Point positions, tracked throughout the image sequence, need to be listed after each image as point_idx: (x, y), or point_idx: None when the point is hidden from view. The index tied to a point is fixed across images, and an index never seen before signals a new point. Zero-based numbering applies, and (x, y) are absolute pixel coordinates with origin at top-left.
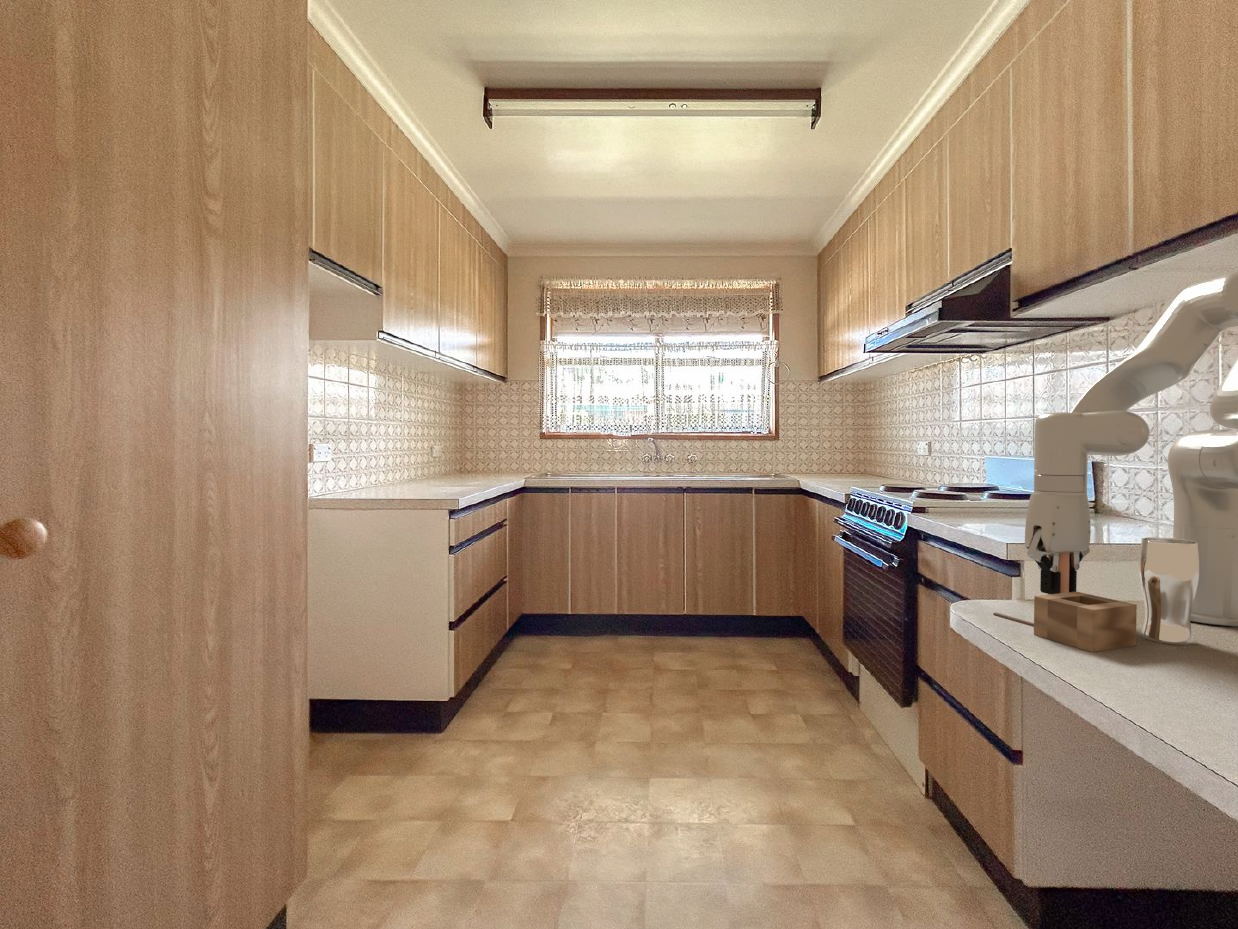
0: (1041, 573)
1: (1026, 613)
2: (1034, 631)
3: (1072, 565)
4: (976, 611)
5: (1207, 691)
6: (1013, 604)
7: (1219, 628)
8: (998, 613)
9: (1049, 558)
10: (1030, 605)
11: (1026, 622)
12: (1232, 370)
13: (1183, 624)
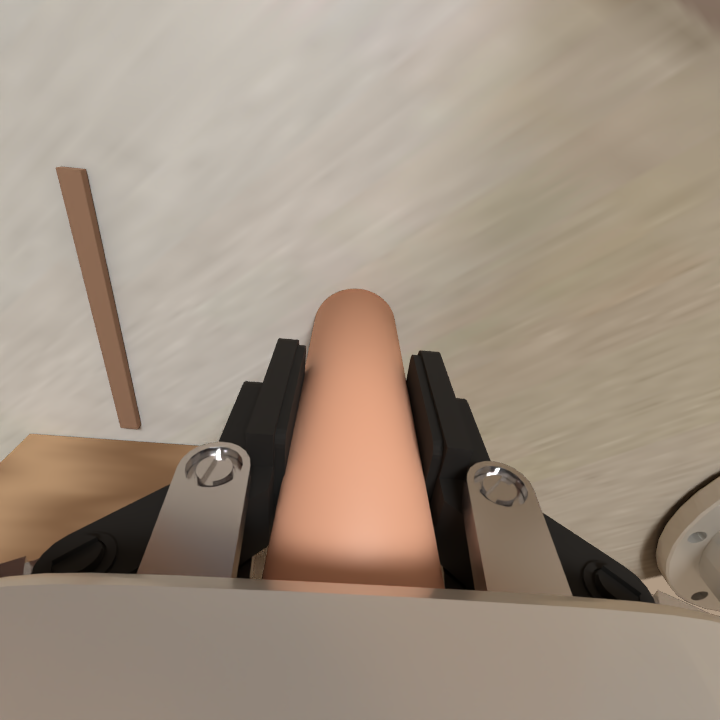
0: (256, 412)
1: (270, 226)
2: (22, 444)
3: (443, 571)
4: (6, 48)
5: None
6: (401, 26)
7: (633, 571)
8: (78, 189)
9: (266, 568)
10: (469, 107)
11: (102, 351)
12: None
13: None
